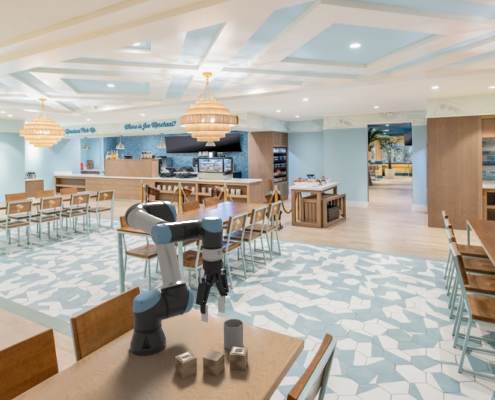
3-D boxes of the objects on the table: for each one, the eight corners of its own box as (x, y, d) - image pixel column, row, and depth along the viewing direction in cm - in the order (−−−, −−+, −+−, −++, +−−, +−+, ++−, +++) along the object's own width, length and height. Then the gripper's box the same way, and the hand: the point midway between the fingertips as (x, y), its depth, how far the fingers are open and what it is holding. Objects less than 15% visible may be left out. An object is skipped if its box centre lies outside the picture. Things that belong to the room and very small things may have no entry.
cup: (240, 351, 146) (240, 328, 145) (221, 349, 148) (221, 326, 147) (244, 341, 154) (244, 319, 153) (226, 339, 156) (226, 318, 155)
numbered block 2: (229, 369, 133) (229, 353, 133) (233, 360, 139) (232, 345, 138) (244, 370, 132) (244, 355, 131) (247, 361, 138) (247, 346, 137)
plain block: (203, 372, 131) (202, 357, 130) (211, 364, 136) (211, 349, 136) (216, 376, 129) (216, 361, 128) (224, 367, 134) (224, 353, 133)
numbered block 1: (175, 371, 132) (174, 355, 131) (188, 365, 136) (188, 350, 135) (183, 378, 127) (182, 362, 127) (197, 372, 131) (196, 356, 130)
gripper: (200, 267, 117) (201, 330, 119) (238, 253, 135) (238, 308, 137) (184, 263, 121) (185, 324, 124) (223, 251, 139) (223, 304, 141)
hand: (213, 316), depth 130 cm, fingers open, 9 cm apart
